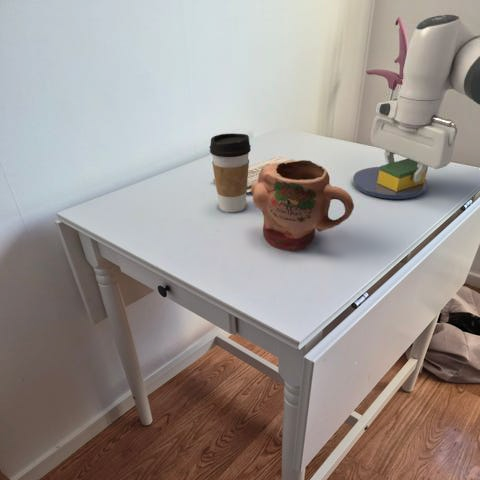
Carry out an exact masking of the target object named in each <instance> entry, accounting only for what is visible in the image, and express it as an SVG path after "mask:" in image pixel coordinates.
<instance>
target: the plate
mask: <svg viewBox="0 0 480 480" xmlns="http://www.w3.org/2000/svg"><path fill="white" fill-rule="evenodd" d="M379 171H380V166H373V167H372V166H371V167H367V168H363V169H361V170H358V171H357V172H355V173H354V175H352V184H353V186H354V188H356V189H357V190H358V191H359V192H361V193H364V194H366V195H368V196H372V197H376V198H381V199H389V200H403V199H411V198H415V197H416V198H417V197H418V196H421V195H423V194H424V193H425V192H426V191H427V188H428V181H427V179H426V178H425V181H424V183H423V184H419V185H416V186H413V187H410V188H407V189H404V190H400V191H397V192H396V191H393V190H391V189H389V188H387V187H385V186H383V185H380V184H378V183H377V181H378V176H379Z"/></svg>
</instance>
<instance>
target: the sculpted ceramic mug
mask: <svg viewBox="0 0 480 480" xmlns="http://www.w3.org/2000/svg"><path fill="white" fill-rule="evenodd" d="M330 178H331V177H330V175H329V173H328V171H327V169H326V168H325V167H323V166H322V165H320V164H317V163H315V162H313V161H311V160H307V159H301V160H297V161H288V162H282V163H272V164H270V165H268V166H266V167H264V168H262V170H261V171H260V173H259V177H258V181H256V182H255V183H254V184H253V185H252V187H251V191H250V192H251V194H252V202H253V204H254V206H255V207H256V208H257V209H258V210H260V211H261V213H262V216H263V226H262V235H263V237H264V239H265V241H266V242H267V244H268V245H270V246H272V247H274V248H277V249H280V250H284V251H291V252H292V251H299V250H303V249H304V248H306V247H308V246H309V245H310V244H311V243H312V242H313V240H314V238H315V234H316V231H317V232H320V233H321V232H324V231H326V230H330V229H333V228H335V227H337V226H339V225H341V223H343V222H345V221H346V220H348V219H349V218H350V217H351V216H352V214H353V211H354V208H355V205H354V204H355V203H354V201H353V198H352V196H351V195H350V194H349V192H348V191H346V190H345V189H343V188H341V187H339V186H333V185H331V183H330V181H331V179H330ZM333 200H337V201H339V202H341V203H342V204H343V206H344V207H343V208H344V214H343V215H342V216H340V217H338V218H336V219H332V218H330V217H329V210H330V206H331V202H332V201H333Z"/></svg>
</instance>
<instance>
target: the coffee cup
mask: <svg viewBox="0 0 480 480" xmlns="http://www.w3.org/2000/svg"><path fill="white" fill-rule="evenodd" d="M250 143H251V142H250V136H249V135H248V134H245V133H221V134H216V135H214V136H212V137H211V139H210V145H209V153H210V154H211V156H212V162H211V163H212V169H213V176H214V179H215V182H216V183H215V188H216V194H217V201H218V207H219V209H220V210H221V211H223V212H226V213H238V212H241V211H243V210H245V209H246V207H247V206H246V205H247V192H246V191H247V180H248V168H249V167H250V159H249V154H250V152H251V150H252V149H251V144H250Z"/></svg>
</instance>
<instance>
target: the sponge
mask: <svg viewBox="0 0 480 480" xmlns="http://www.w3.org/2000/svg"><path fill="white" fill-rule="evenodd" d="M417 165H418V162H416V161H413V160H410V159H408V158H404V159H400V160H397V161H394V162H393V163H390V164H387V163H386V164H383V165H380V166H379V167H380V171H379V176H378V181H377V183H378V184H380V185H383V186H385V187H387V188H389V189H391V190H393V191H396V192H397V191H400V190H404V189H407V188H410V187H413V186H416V185H419V184H423V183H424V181H425V179H426V177H427V173H428V169H429V167H428V168H427V169H426V170H425V171H424V172H423V173H422V175H421V179H420V181H418V182H413V181H411V180H410V177H411V173H413V172H416V171H417V170H418V169H419V168H418V167H417Z"/></svg>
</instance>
